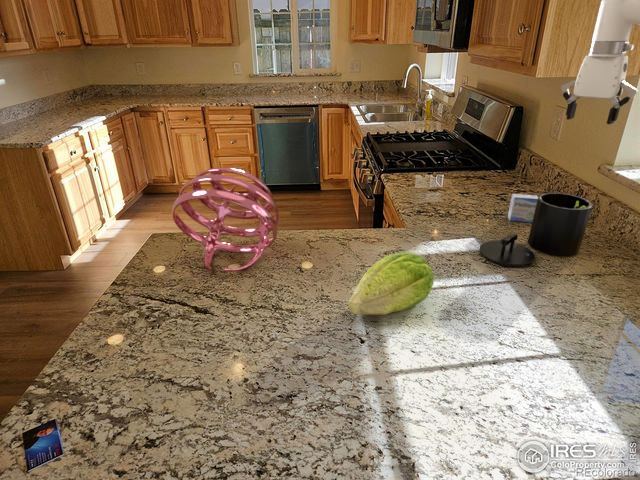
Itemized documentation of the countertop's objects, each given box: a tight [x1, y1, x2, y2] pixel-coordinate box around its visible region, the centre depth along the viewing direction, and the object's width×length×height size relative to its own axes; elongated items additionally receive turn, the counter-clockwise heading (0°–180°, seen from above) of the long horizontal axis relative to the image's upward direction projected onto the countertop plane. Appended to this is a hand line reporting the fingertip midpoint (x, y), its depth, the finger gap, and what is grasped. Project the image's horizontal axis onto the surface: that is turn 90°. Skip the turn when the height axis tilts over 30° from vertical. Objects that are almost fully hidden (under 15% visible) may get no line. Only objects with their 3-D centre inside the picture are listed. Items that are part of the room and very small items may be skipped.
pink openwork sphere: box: [171, 167, 280, 273], centre depth 114 cm, size 28×28×27 cm
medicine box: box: [507, 193, 539, 224], centre depth 143 cm, size 8×4×9 cm, turn 76°
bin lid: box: [478, 232, 536, 267], centre depth 121 cm, size 15×15×6 cm
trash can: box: [527, 192, 593, 258], centre depth 124 cm, size 14×14×14 cm
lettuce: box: [347, 252, 435, 316], centre depth 97 cm, size 13×22×14 cm
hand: (589, 121), depth 111 cm, fingers open, 9 cm apart
